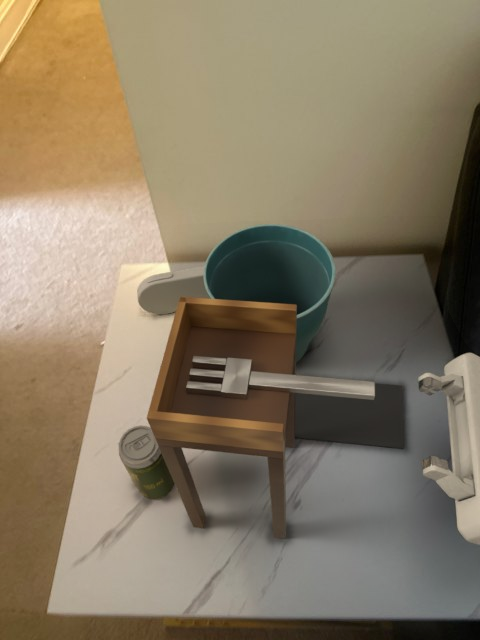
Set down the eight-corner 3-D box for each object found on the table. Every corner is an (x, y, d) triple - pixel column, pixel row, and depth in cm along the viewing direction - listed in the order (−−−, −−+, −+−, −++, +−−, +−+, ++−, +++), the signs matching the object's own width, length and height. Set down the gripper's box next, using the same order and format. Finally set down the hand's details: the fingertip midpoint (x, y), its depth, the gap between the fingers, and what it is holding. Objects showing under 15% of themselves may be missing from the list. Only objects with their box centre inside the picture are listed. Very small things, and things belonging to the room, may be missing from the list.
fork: (374, 375, 55) (375, 369, 54) (374, 411, 53) (375, 406, 52) (194, 359, 58) (193, 354, 57) (186, 393, 55) (185, 388, 54)
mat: (402, 386, 83) (402, 385, 83) (403, 449, 77) (404, 448, 77) (255, 374, 87) (254, 372, 86) (246, 433, 81) (245, 431, 80)
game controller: (254, 288, 97) (251, 255, 91) (256, 298, 96) (254, 265, 89) (142, 308, 96) (131, 275, 90) (143, 318, 95) (132, 286, 88)
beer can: (163, 456, 79) (146, 415, 70) (184, 485, 77) (169, 447, 67) (130, 479, 78) (108, 440, 68) (150, 509, 75) (130, 474, 65)
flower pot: (341, 380, 85) (351, 310, 71) (223, 399, 84) (210, 332, 71) (315, 290, 96) (319, 215, 82) (210, 306, 95) (197, 233, 82)
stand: (295, 438, 80) (296, 304, 56) (285, 539, 71) (282, 432, 48) (212, 429, 81) (179, 296, 58) (193, 527, 73) (146, 418, 49)
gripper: (535, 368, 64) (439, 323, 60) (573, 554, 52) (455, 513, 48) (493, 390, 69) (401, 350, 65) (518, 565, 57) (406, 528, 53)
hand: (424, 420), depth 57 cm, fingers open, 8 cm apart
